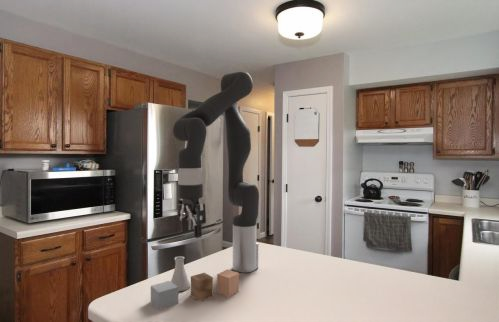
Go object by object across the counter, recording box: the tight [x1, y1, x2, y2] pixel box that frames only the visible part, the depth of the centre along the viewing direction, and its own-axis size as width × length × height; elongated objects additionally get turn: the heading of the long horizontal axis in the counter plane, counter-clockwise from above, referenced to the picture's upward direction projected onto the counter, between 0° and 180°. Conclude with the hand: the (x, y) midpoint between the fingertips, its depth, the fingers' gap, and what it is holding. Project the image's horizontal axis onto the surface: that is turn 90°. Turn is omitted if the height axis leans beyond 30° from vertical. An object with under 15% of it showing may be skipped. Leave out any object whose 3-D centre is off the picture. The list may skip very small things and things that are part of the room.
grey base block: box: [150, 280, 179, 310], centre depth 93 cm, size 6×6×5 cm
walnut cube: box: [190, 272, 214, 302], centre depth 97 cm, size 5×5×6 cm
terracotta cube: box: [216, 269, 240, 298], centre depth 100 cm, size 5×5×6 cm
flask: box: [170, 255, 191, 292], centre depth 103 cm, size 7×7×10 cm
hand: (191, 234), depth 97 cm, fingers open, 8 cm apart
